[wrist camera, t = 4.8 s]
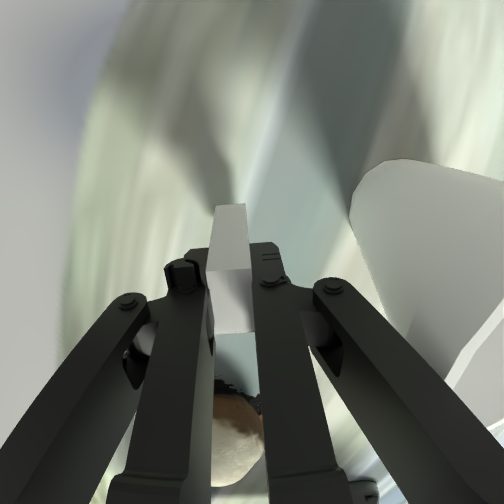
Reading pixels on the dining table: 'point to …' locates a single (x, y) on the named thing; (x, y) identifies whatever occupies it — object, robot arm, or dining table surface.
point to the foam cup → (440, 270)
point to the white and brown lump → (234, 434)
